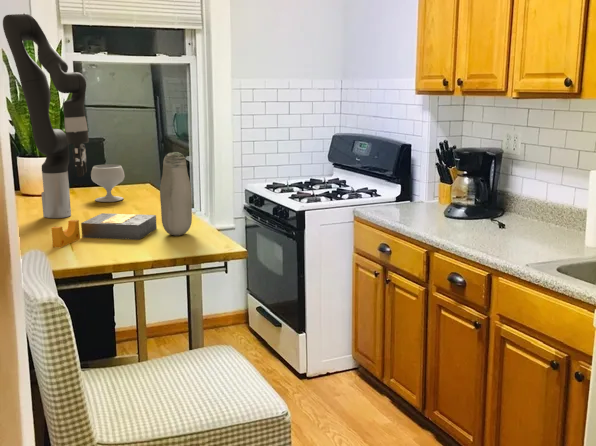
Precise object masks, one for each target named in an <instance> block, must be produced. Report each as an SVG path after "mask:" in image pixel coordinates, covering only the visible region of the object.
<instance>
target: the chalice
mask: <svg viewBox="0 0 596 446" xmlns="http://www.w3.org/2000/svg"><path fill="white" fill-rule="evenodd" d="M125 176H126V175H125V170H124V169H123V167H122V165H121V164H116V163H113V164H110V163H109V164H96V165H93V166H92V169H91V171H90V177H91V181H92V182H93V183H95V184H97V185H98V186H100V187H101V188H104V189H105V191H106V195H105V196H100V197H97V198H95V199H94V201H95V202H98V203H112V202H119V201H123V200H124V199H125V198H124V197H122V196H117V195H115V196H114V195H113V194H112V190H113V189H114V188H115V187H116V186H117V185H119V184H120V183H122V182H123V181H124V180H125Z"/></svg>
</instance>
